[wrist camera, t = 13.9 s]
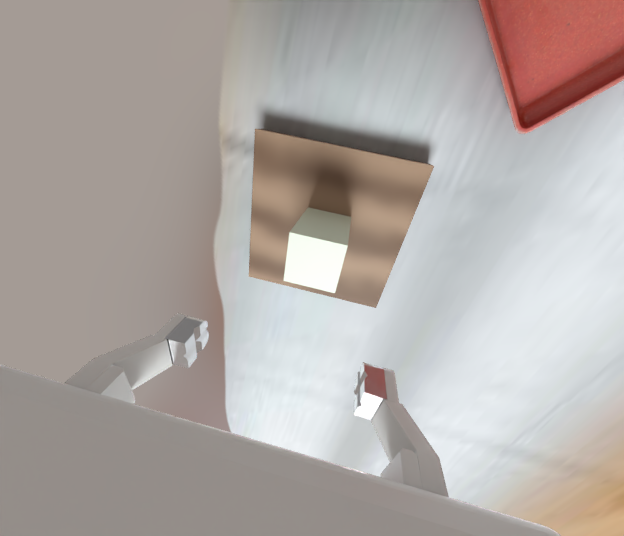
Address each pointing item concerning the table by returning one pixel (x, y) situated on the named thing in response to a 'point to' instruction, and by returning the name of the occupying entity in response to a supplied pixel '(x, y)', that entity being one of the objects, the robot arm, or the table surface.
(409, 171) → the walnut base
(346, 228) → the sage block
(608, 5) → the brown square frame
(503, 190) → the table surface
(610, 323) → the table surface
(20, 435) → the robot arm
